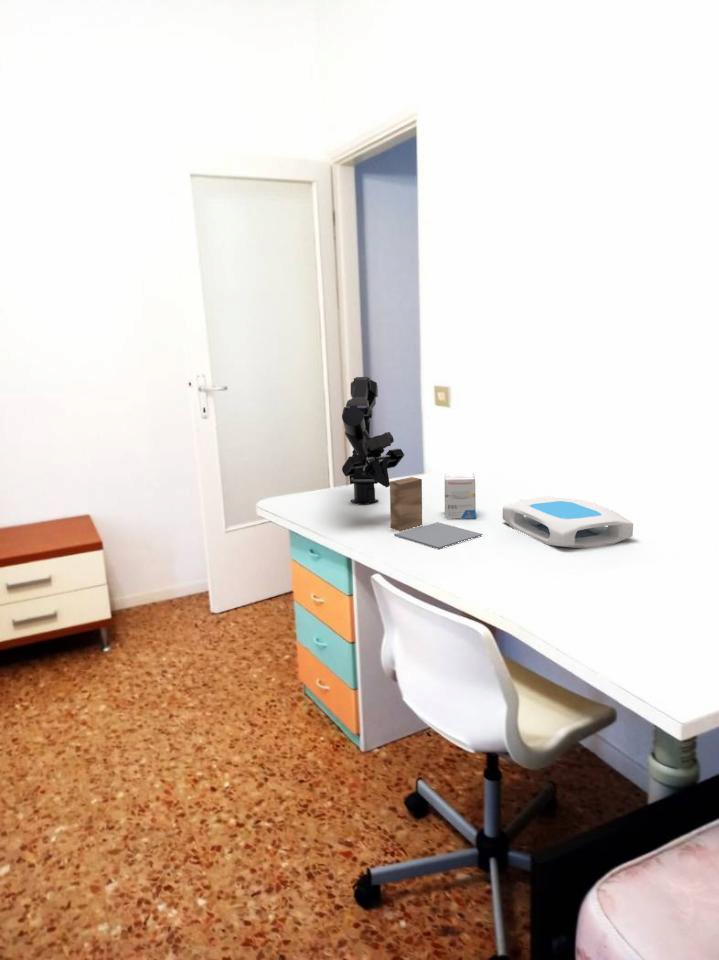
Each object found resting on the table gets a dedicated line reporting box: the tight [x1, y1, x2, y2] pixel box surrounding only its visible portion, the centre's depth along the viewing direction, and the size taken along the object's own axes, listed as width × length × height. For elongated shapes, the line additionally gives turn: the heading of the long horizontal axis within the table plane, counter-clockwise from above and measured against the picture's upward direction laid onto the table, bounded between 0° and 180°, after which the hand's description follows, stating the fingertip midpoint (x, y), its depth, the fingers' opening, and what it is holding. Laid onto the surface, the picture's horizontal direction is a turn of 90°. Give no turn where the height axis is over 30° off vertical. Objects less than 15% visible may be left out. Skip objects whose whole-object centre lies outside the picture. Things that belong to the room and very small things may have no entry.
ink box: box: [444, 472, 477, 520], centre depth 197 cm, size 9×8×12 cm
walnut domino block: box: [389, 476, 423, 532], centre depth 187 cm, size 4×8×13 cm, turn 129°
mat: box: [394, 521, 484, 550], centre depth 179 cm, size 16×16×1 cm
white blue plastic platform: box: [502, 496, 634, 549], centre depth 179 cm, size 21×28×6 cm
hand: (388, 486), depth 188 cm, fingers closed
